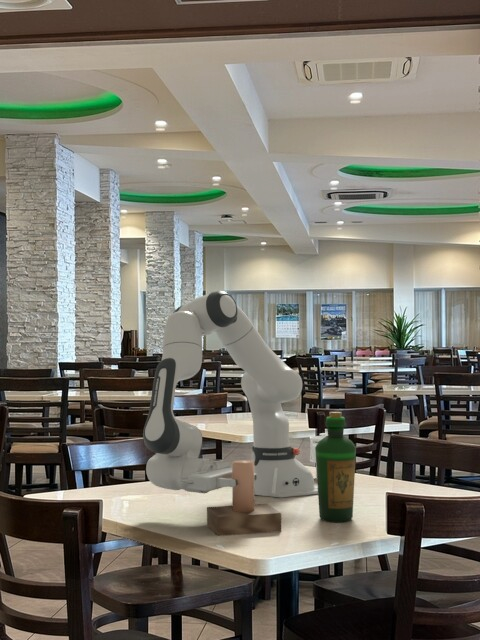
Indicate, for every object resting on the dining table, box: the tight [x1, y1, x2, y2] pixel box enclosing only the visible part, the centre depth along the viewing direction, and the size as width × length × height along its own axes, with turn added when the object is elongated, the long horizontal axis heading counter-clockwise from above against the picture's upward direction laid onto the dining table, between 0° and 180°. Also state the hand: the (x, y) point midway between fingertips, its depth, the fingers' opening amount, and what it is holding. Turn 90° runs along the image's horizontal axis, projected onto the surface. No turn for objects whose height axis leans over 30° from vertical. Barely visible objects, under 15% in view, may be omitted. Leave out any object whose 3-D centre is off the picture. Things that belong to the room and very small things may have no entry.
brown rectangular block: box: [206, 503, 282, 536], centre depth 203 cm, size 16×12×4 cm
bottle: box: [315, 411, 357, 523], centre depth 213 cm, size 11×11×28 cm
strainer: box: [309, 432, 327, 479], centre depth 278 cm, size 7×7×15 cm
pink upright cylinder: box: [231, 459, 255, 512], centre depth 204 cm, size 6×6×12 cm
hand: (246, 480), depth 203 cm, fingers open, 8 cm apart
